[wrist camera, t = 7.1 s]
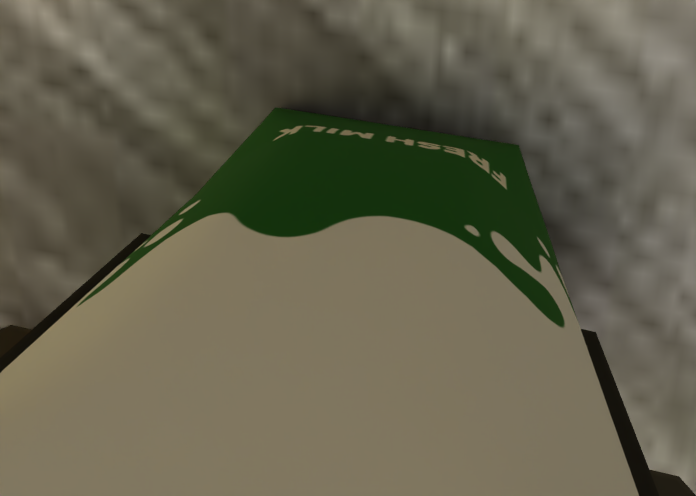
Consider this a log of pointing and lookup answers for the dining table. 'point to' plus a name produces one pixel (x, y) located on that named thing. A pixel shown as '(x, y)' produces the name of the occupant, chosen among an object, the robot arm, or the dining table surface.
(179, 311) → the soya milk
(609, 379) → the robot arm
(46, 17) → the dining table surface
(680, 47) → the dining table surface
